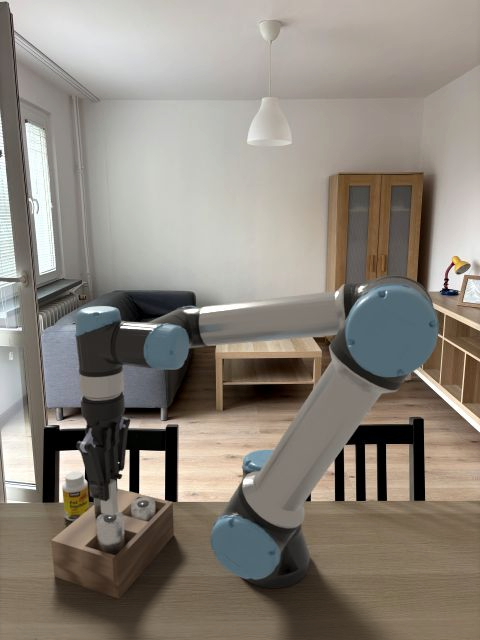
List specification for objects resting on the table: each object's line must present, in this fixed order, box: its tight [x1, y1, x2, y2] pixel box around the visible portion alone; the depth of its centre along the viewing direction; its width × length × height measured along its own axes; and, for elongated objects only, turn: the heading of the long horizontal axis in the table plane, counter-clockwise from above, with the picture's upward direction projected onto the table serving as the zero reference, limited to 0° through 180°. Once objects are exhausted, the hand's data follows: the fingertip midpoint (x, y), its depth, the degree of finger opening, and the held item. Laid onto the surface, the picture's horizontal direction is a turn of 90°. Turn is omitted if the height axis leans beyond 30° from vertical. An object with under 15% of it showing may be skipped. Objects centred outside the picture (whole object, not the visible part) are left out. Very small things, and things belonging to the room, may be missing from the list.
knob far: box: [131, 498, 156, 522], centre depth 107 cm, size 5×5×9 cm
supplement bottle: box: [61, 470, 90, 522], centre depth 117 cm, size 6×6×10 cm
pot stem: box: [88, 484, 102, 518], centre depth 103 cm, size 3×3×7 cm
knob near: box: [96, 512, 125, 556], centre depth 96 cm, size 5×5×9 cm
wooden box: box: [50, 488, 175, 599], centre depth 103 cm, size 15×20×8 cm
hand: (109, 511), depth 95 cm, fingers closed
